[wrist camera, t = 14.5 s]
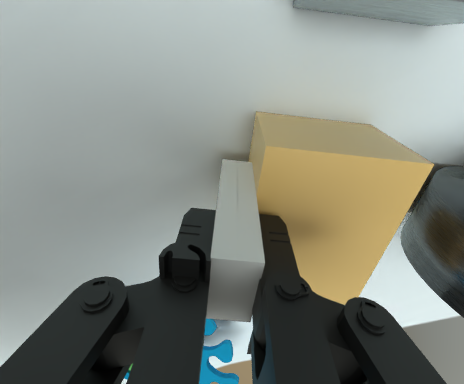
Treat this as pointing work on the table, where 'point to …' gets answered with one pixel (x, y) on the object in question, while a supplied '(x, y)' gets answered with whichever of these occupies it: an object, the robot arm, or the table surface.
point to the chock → (334, 194)
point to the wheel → (439, 236)
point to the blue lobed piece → (221, 351)
